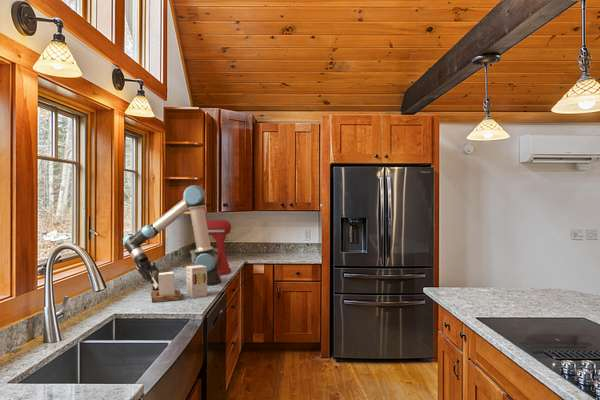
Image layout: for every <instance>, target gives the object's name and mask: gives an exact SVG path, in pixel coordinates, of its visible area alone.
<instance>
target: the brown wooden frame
mask: <svg viewBox="0 0 600 400" xmlns="http://www.w3.org/2000/svg"><path fill="white" fill-rule="evenodd" d="M152 277H153V278H154V279H155V281H156V282H157V284H158V271H152V274H151V278H152ZM151 285H152V288H151V291H150V296H151V303H157V302H158V303H159V302H168V301H169V302H170V301H180V300H182V297H181V296H182V295H181V289H179V288H178V289H175V295H167V296H160V294H159V286H158V287H157V288H156V289H155V287H154V286H153V284H151ZM158 285H159V284H158Z"/></svg>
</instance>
